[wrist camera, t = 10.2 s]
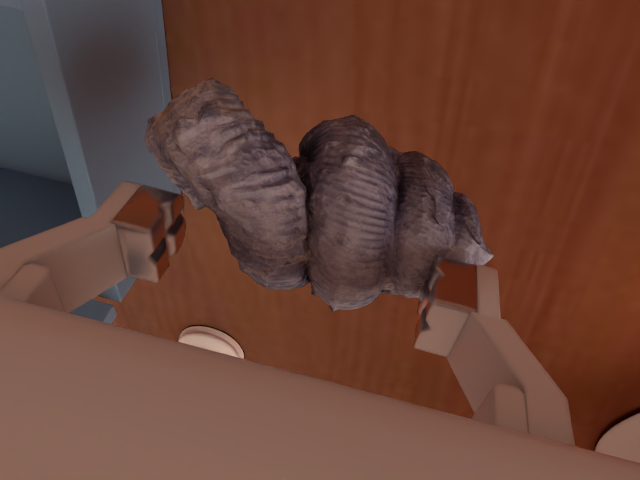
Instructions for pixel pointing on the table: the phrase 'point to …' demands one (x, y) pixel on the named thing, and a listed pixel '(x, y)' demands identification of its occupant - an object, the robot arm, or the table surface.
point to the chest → (77, 109)
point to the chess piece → (211, 340)
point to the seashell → (315, 200)
